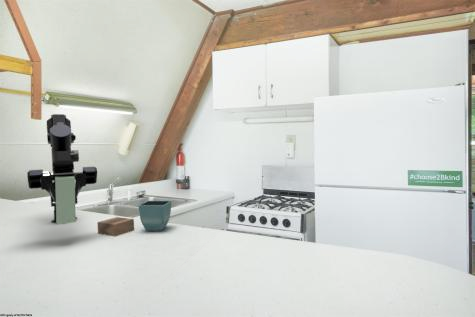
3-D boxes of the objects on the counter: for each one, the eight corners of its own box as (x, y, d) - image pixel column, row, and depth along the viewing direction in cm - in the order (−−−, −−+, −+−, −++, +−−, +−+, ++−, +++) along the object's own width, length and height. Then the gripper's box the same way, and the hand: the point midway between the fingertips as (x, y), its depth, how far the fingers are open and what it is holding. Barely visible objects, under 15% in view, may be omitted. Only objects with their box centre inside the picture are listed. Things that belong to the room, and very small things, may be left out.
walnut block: (98, 234, 114) (97, 222, 114) (117, 228, 121) (116, 217, 121) (115, 237, 110) (114, 224, 110) (134, 230, 117) (133, 219, 117)
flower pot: (173, 226, 121) (172, 200, 121) (165, 232, 113) (164, 205, 112) (148, 226, 122) (147, 200, 122) (138, 232, 114) (137, 205, 113)
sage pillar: (56, 220, 105) (55, 176, 104) (74, 218, 107) (73, 176, 106) (56, 223, 100) (55, 178, 99) (75, 221, 102) (74, 177, 102)
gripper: (25, 142, 101) (25, 184, 92) (94, 140, 110) (101, 179, 101) (28, 168, 109) (29, 209, 100) (93, 164, 117) (99, 202, 108)
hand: (65, 199), depth 102 cm, fingers closed on sage pillar, 5 cm apart
